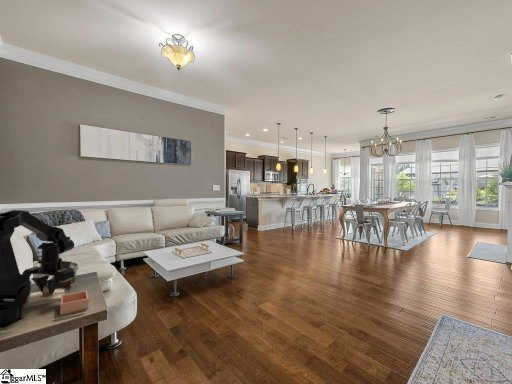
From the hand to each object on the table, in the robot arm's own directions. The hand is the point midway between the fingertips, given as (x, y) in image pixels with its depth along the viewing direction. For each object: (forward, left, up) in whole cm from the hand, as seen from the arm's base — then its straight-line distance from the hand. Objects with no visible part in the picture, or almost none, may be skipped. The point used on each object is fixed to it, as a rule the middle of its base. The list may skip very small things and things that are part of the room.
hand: (47, 293), depth 97 cm
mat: (0, 0, -2) cm, 2 cm away
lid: (0, 0, -2) cm, 2 cm away
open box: (-4, -16, -2) cm, 17 cm away
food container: (+14, +5, -3) cm, 15 cm away
